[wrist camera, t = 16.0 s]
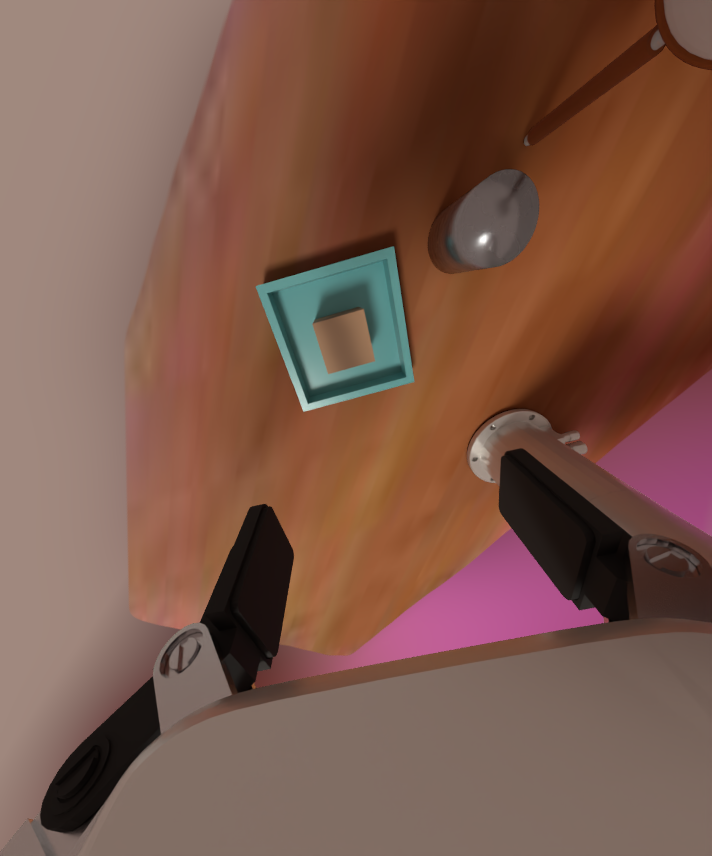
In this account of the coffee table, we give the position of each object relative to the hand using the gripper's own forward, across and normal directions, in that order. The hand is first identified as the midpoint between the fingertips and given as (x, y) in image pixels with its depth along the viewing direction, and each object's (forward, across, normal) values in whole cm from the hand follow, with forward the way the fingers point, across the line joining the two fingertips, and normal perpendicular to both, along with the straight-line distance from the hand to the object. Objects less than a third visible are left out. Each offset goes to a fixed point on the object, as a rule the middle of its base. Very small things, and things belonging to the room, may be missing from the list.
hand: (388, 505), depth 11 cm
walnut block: (+24, 0, -4) cm, 24 cm away
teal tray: (+24, +1, -4) cm, 24 cm away
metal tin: (+24, -13, -10) cm, 30 cm away
